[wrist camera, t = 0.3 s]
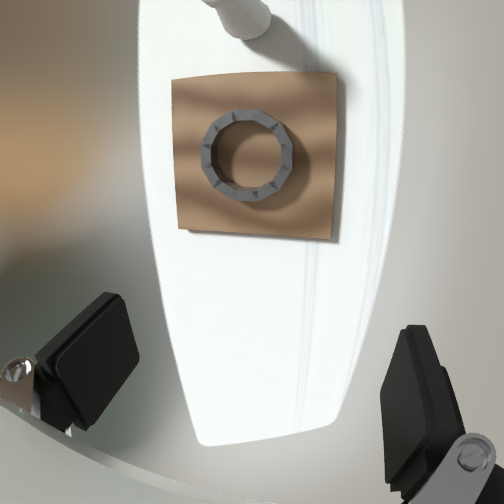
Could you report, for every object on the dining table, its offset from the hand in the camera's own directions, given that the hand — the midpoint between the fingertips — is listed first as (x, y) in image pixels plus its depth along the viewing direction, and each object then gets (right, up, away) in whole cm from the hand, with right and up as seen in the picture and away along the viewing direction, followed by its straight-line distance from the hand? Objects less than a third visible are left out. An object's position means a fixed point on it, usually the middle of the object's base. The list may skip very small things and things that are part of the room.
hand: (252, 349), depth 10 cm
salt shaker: (0, +31, +21) cm, 37 cm away
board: (0, +15, +27) cm, 31 cm away
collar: (0, +15, +26) cm, 30 cm away
